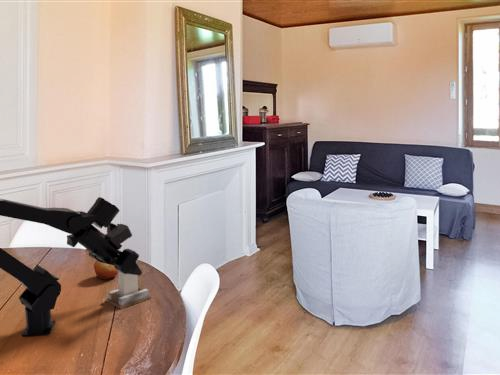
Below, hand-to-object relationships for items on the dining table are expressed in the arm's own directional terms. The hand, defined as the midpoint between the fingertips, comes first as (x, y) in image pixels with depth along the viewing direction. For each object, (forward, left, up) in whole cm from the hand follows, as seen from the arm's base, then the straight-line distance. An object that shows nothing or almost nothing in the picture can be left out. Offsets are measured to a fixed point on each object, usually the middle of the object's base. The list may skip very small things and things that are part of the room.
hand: (132, 269), depth 128 cm
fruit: (+18, +10, -9) cm, 22 cm away
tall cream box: (-1, +1, -8) cm, 8 cm away
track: (-1, +1, -9) cm, 9 cm away
